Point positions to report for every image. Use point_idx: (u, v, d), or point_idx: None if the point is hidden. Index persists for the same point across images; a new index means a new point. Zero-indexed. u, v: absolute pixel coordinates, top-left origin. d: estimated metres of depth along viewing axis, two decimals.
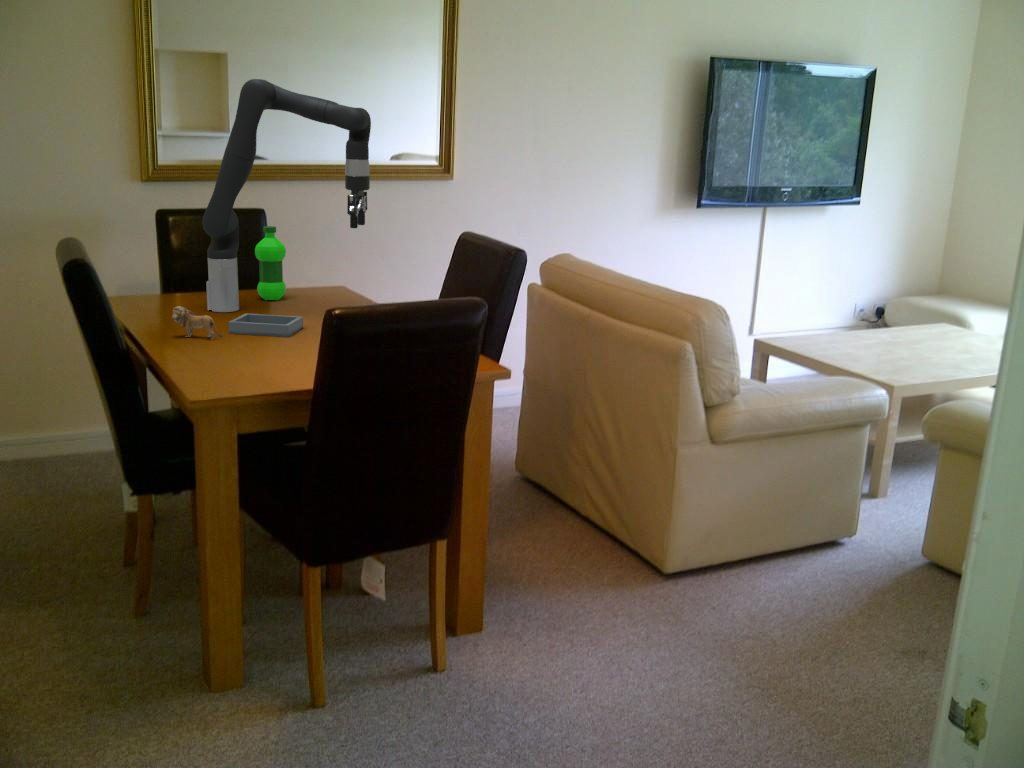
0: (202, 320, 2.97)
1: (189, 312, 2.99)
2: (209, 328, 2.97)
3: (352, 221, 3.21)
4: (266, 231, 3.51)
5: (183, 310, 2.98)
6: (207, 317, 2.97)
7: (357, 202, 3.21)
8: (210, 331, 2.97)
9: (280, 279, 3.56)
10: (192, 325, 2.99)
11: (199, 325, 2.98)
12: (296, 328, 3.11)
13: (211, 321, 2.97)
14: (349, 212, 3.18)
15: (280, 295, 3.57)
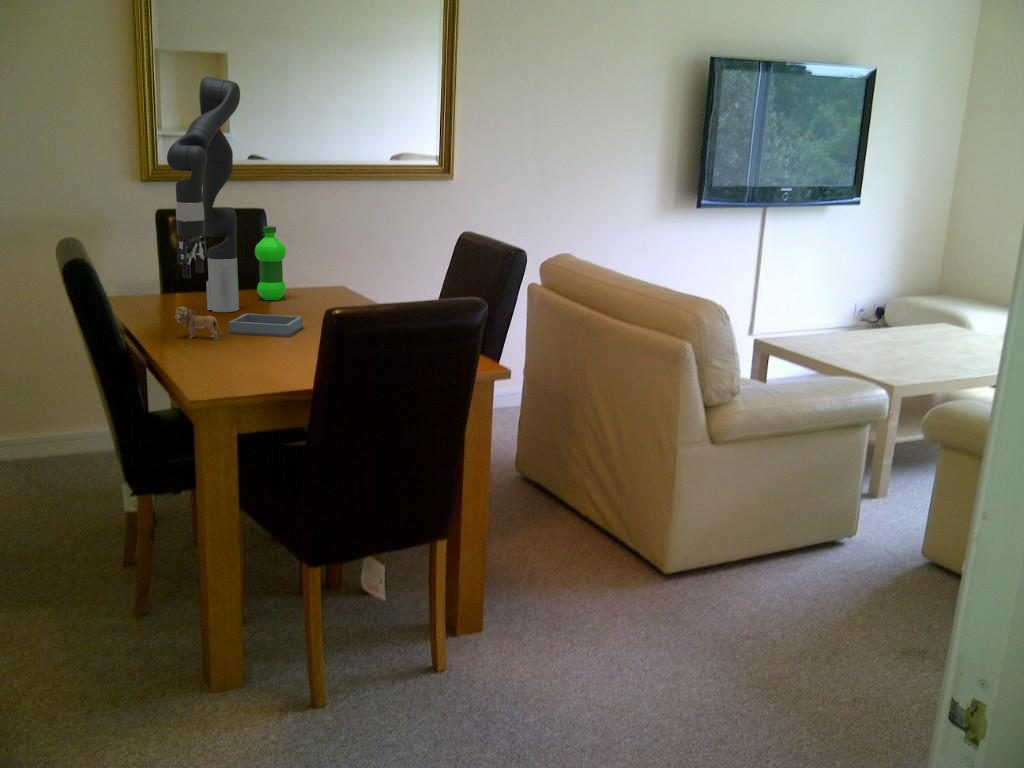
0: (206, 320, 2.97)
1: (192, 312, 2.98)
2: (212, 328, 2.97)
3: (184, 270, 2.90)
4: (266, 231, 3.51)
5: (186, 310, 2.98)
6: (210, 317, 2.97)
7: (190, 249, 2.90)
8: (213, 331, 2.97)
9: (280, 279, 3.56)
10: (195, 325, 2.98)
11: (202, 325, 2.98)
12: (296, 328, 3.11)
13: (214, 321, 2.97)
14: (179, 261, 2.87)
15: (280, 295, 3.57)
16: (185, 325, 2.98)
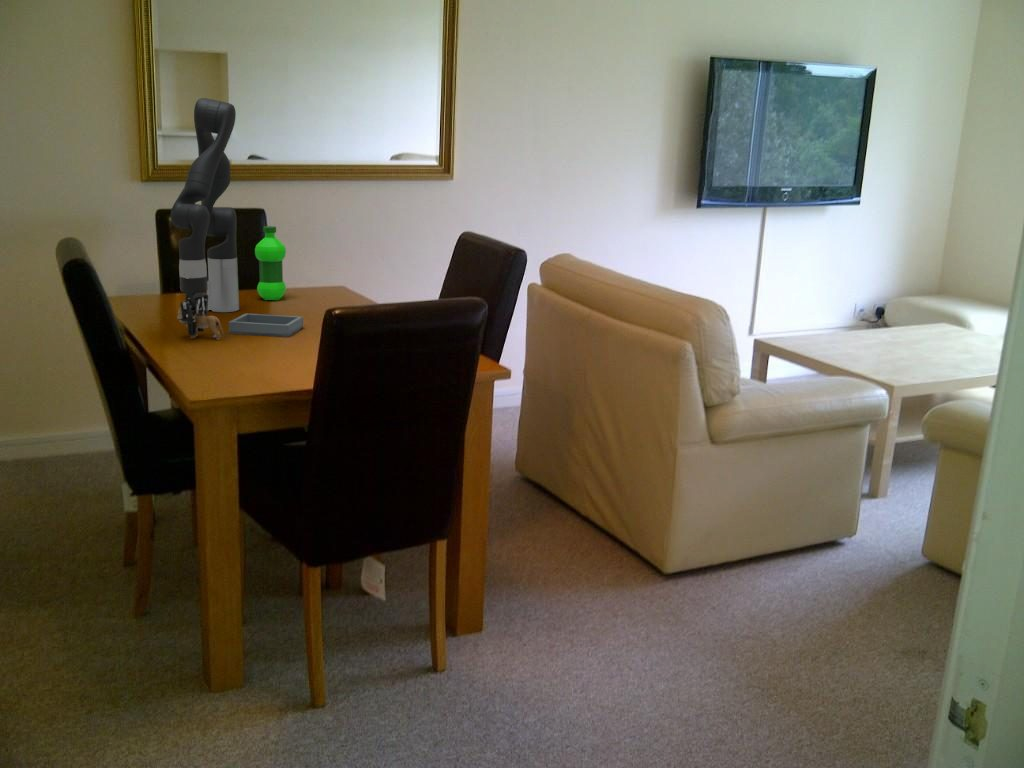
0: (208, 320, 2.97)
1: None
2: (215, 328, 2.97)
3: (189, 328, 2.96)
4: (266, 231, 3.51)
5: None
6: (213, 317, 2.97)
7: (193, 307, 2.95)
8: (216, 331, 2.97)
9: (280, 279, 3.56)
10: (197, 325, 2.98)
11: (205, 325, 2.98)
12: (296, 328, 3.11)
13: (217, 321, 2.97)
14: (185, 320, 2.93)
15: (280, 295, 3.57)
16: (187, 325, 2.98)
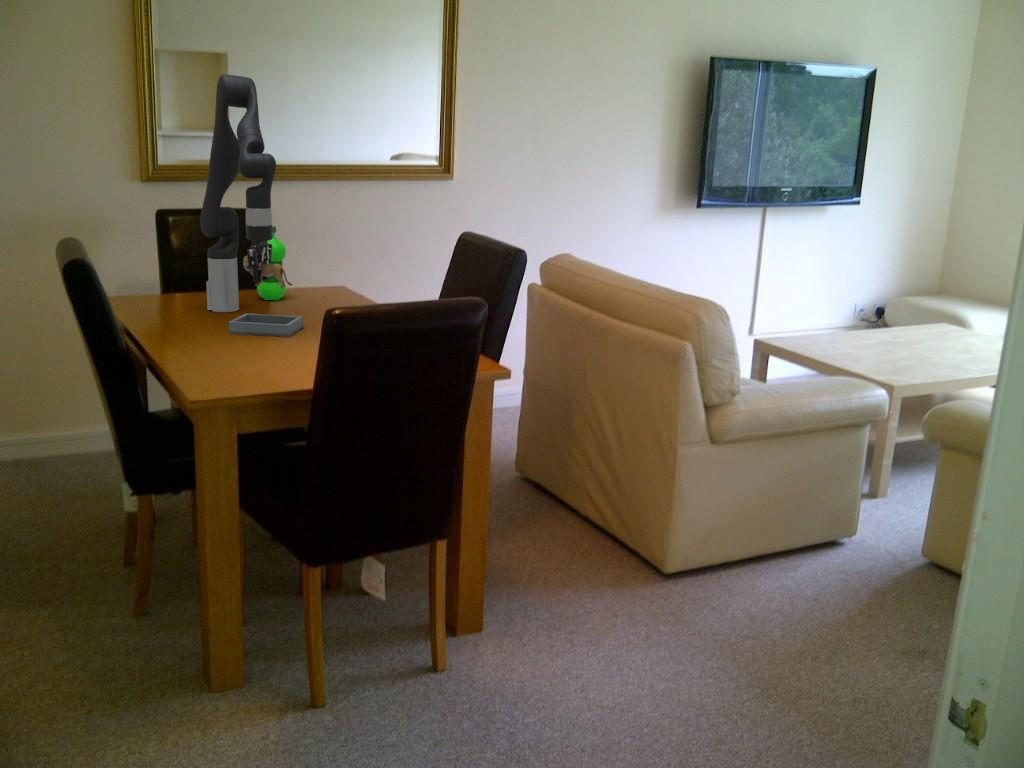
0: (273, 268, 3.04)
1: None
2: (279, 276, 3.04)
3: (255, 275, 3.03)
4: None
5: None
6: (277, 265, 3.04)
7: (259, 255, 3.02)
8: (280, 279, 3.04)
9: None
10: (262, 273, 3.05)
11: (269, 273, 3.05)
12: (296, 328, 3.11)
13: (281, 269, 3.04)
14: (251, 267, 3.01)
15: (280, 295, 3.57)
16: (252, 273, 3.05)
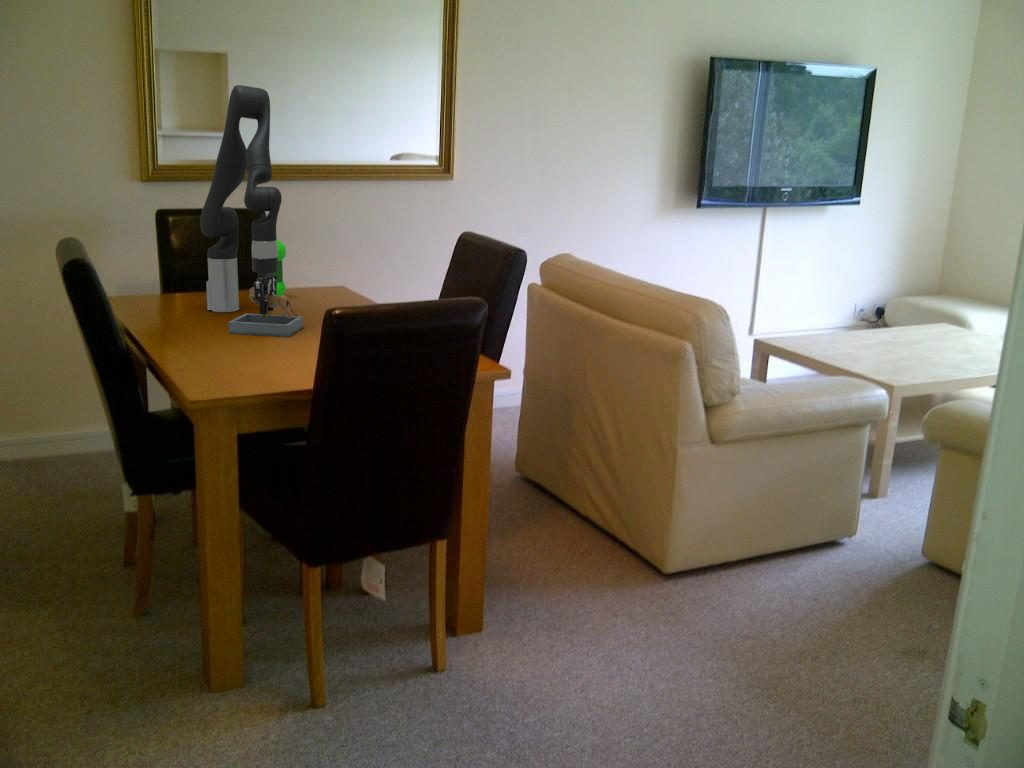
0: (279, 299, 3.07)
1: None
2: (286, 307, 3.07)
3: (261, 307, 3.06)
4: None
5: None
6: (284, 297, 3.07)
7: (265, 286, 3.05)
8: (287, 310, 3.07)
9: (280, 279, 3.56)
10: (268, 305, 3.09)
11: (275, 304, 3.08)
12: (296, 328, 3.11)
13: (287, 300, 3.07)
14: (257, 299, 3.04)
15: None
16: None
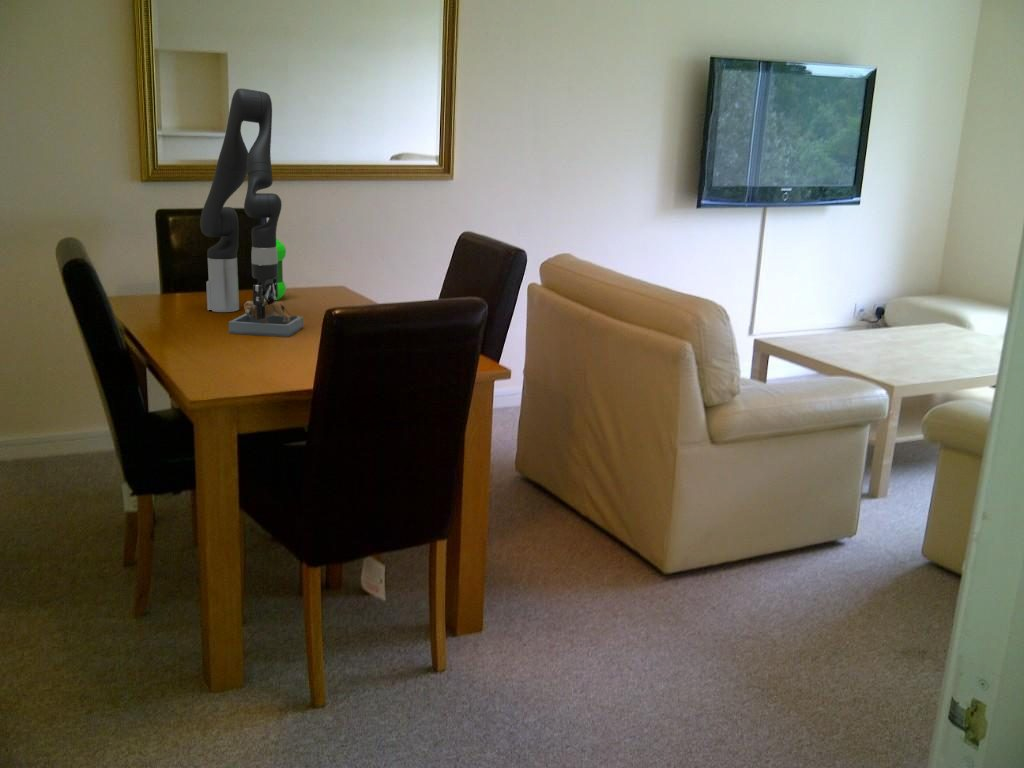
0: (273, 306, 3.07)
1: None
2: (282, 312, 3.07)
3: (259, 312, 3.05)
4: None
5: None
6: (277, 302, 3.07)
7: (264, 291, 3.05)
8: (284, 314, 3.07)
9: (280, 279, 3.56)
10: (265, 315, 3.09)
11: (272, 312, 3.08)
12: (296, 328, 3.11)
13: (282, 305, 3.07)
14: (255, 303, 3.02)
15: (280, 295, 3.57)
16: (256, 317, 3.09)
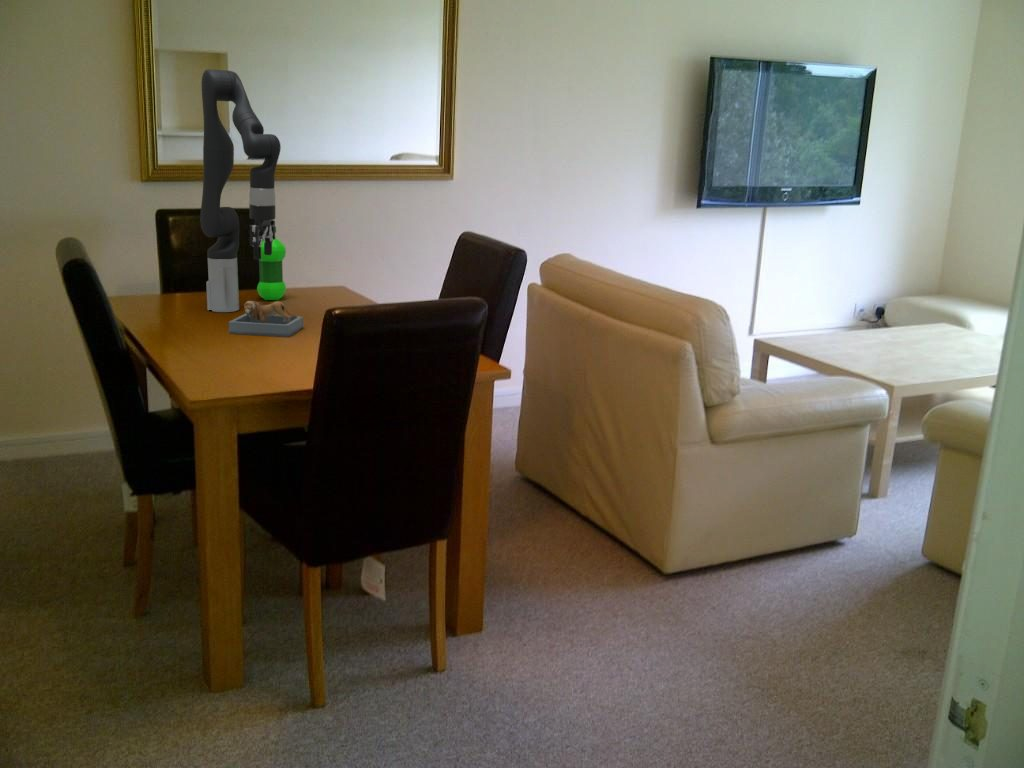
0: (273, 306, 3.07)
1: (259, 304, 3.09)
2: (282, 312, 3.07)
3: (255, 252, 3.07)
4: None
5: (253, 303, 3.09)
6: (277, 302, 3.07)
7: (261, 232, 3.07)
8: (284, 314, 3.07)
9: (280, 279, 3.56)
10: (265, 315, 3.09)
11: (272, 312, 3.09)
12: (296, 328, 3.11)
13: (282, 305, 3.07)
14: (251, 243, 3.04)
15: (280, 295, 3.57)
16: (256, 317, 3.09)
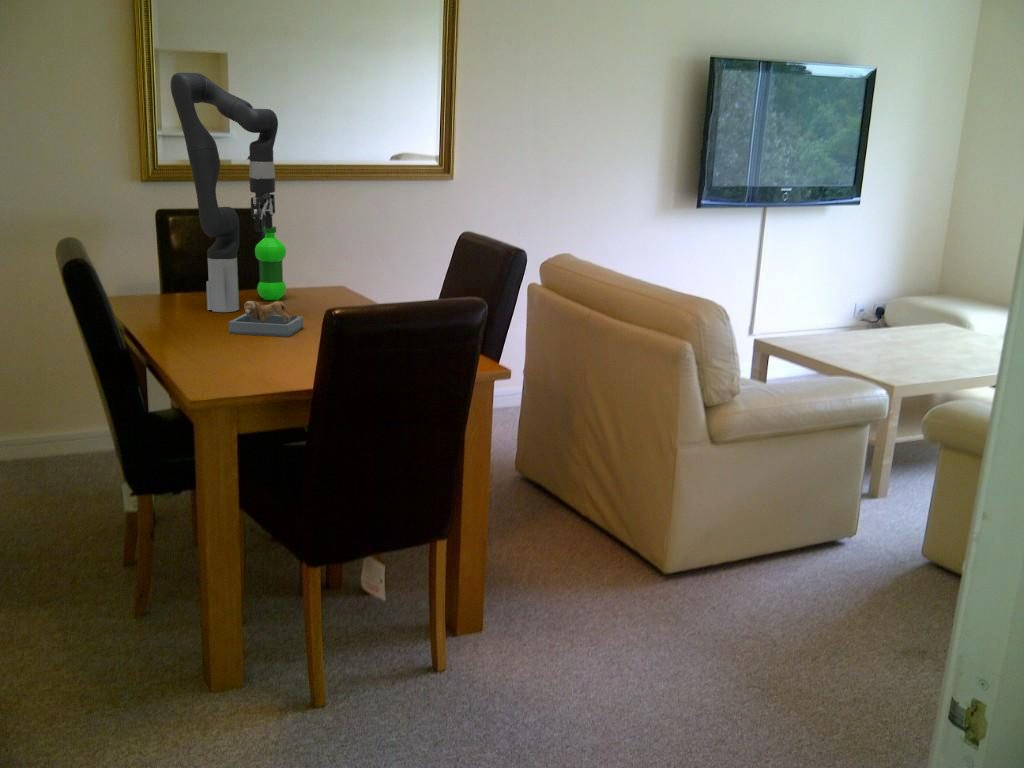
0: (273, 306, 3.07)
1: (259, 304, 3.09)
2: (282, 312, 3.07)
3: (256, 224, 3.15)
4: (266, 231, 3.51)
5: (253, 303, 3.09)
6: (277, 302, 3.07)
7: (262, 205, 3.15)
8: (284, 314, 3.07)
9: (280, 279, 3.56)
10: (266, 315, 3.09)
11: (272, 312, 3.09)
12: (296, 328, 3.11)
13: (282, 305, 3.07)
14: (253, 215, 3.12)
15: (280, 295, 3.57)
16: (256, 317, 3.09)
